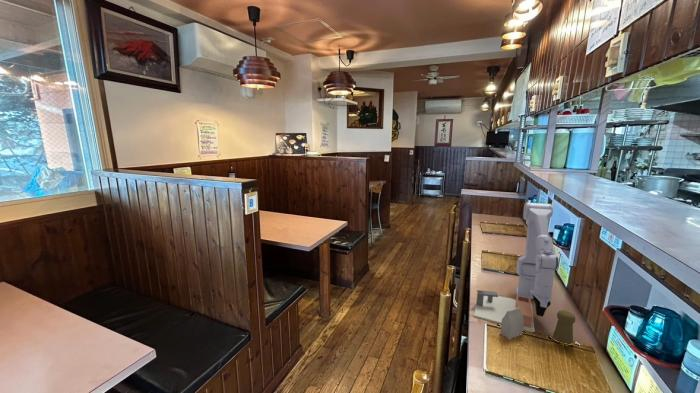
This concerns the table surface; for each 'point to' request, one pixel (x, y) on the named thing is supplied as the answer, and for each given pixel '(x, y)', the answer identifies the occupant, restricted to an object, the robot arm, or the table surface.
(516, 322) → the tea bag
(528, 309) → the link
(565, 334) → the cork
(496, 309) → the board
